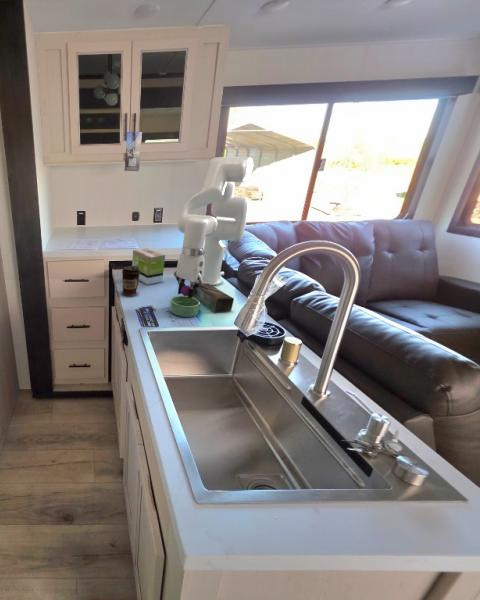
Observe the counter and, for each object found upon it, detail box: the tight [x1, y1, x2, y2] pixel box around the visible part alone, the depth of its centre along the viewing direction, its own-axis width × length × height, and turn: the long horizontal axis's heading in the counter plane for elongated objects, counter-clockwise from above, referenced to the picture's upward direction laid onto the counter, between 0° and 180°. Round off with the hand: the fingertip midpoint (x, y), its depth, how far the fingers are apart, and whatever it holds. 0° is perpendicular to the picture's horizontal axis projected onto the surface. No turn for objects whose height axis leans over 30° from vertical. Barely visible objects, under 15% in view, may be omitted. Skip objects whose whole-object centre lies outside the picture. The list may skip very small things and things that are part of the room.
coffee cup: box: [121, 265, 140, 297], centre depth 146 cm, size 9×8×13 cm
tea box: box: [131, 247, 166, 286], centre depth 164 cm, size 15×10×15 cm, turn 25°
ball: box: [181, 284, 190, 296], centre depth 126 cm, size 4×4×4 cm
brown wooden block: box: [193, 283, 235, 313], centre depth 137 cm, size 8×19×7 cm, turn 11°
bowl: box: [169, 295, 201, 318], centre depth 129 cm, size 11×11×5 cm
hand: (185, 294), depth 127 cm, fingers closed on ball, 4 cm apart
